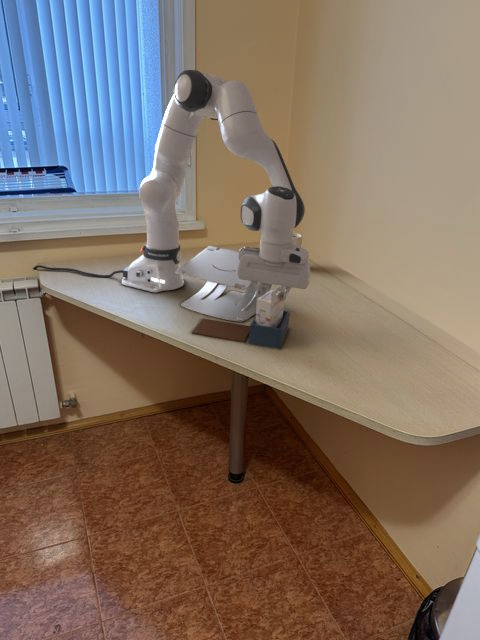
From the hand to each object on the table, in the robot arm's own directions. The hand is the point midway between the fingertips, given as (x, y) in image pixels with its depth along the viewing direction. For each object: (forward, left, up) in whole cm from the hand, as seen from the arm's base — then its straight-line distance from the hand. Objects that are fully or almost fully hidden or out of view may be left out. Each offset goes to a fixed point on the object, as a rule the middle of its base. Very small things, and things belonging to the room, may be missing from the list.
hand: (271, 297), depth 138 cm
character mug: (-5, +63, -13) cm, 65 cm away
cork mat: (-14, -1, -12) cm, 18 cm away
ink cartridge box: (0, 0, -11) cm, 11 cm away
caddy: (0, 0, -12) cm, 12 cm away
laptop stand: (-19, +18, -13) cm, 29 cm away
